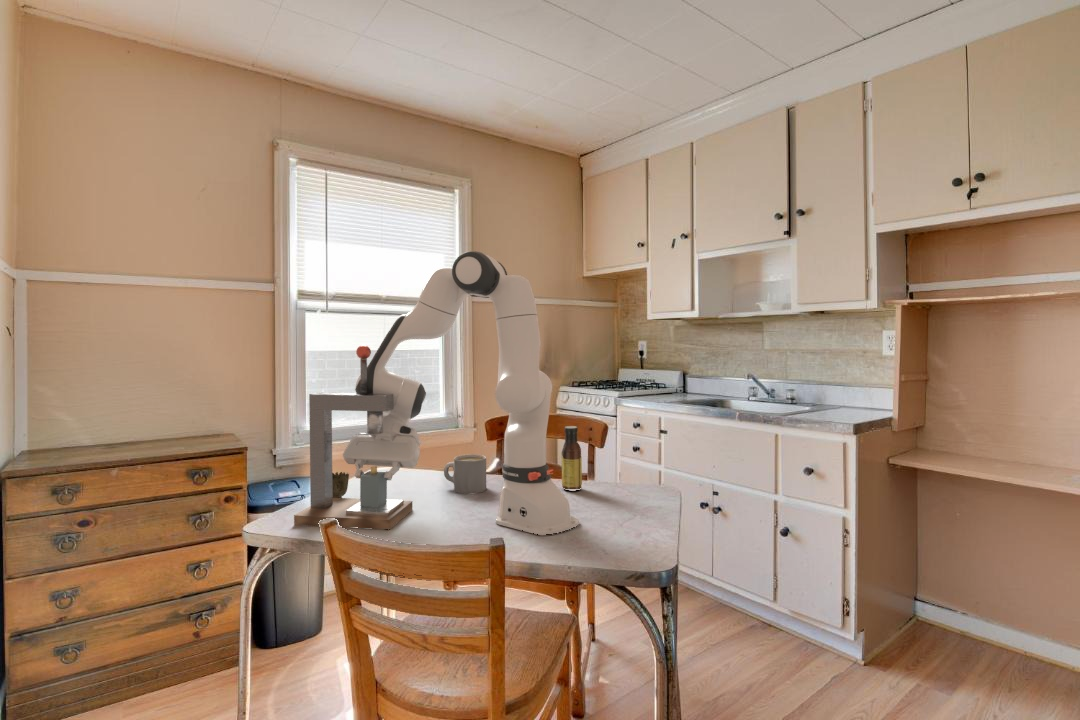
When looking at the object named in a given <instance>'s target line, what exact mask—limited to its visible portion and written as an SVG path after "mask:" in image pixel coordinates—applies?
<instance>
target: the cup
mask: <svg viewBox="0 0 1080 720" xmlns="http://www.w3.org/2000/svg"><path fill="white" fill-rule="evenodd" d="M349 477H350V473H349V472H345V471H341V472H339V473H338V471H336V472H335V473H334V472H332V489H333V498H343V496H345V495H346V493H347V491H348V487H349V480H350V478H349Z"/></svg>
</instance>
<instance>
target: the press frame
mask: <svg viewBox="0 0 1080 720" xmlns="http://www.w3.org/2000/svg"><path fill="white" fill-rule="evenodd" d="M371 354H372V350H371V347H369V346H368V345H367V344H366V345H365V344H362V345H359V346H358V347H357V348H356V356H357V357H358V358H359V359H360V361H359V362H360V366H359V367H360V375H361V393H356V392H352V393H351V392H314V393H313V392H312V393H309V397H308V398H309V399H308V400H309V401H308V402H309V466H310V467H309V475H310V476H309V478H310V479H309V480H310V483H309V484H310V488H309V490H310V492H309V493H310V495H309V496H310V506H311V508H315V509H326V508H328V507H329V506H331V505H333V489H332V473H333V424H332V423H333V421H332V420H333V418H332V417H333V413H332V411H342V412H343V411H344V412H345V411H352V412H366V433H367V434H381V433H383V411H385V412H386V411H389V410H392V409H394V400H393V394H372V393H366V392H367V366H368V358H369V357H370V356H371ZM404 501H405V500H404V499H394V498H393V499H392V498H391V499H390V498H387V502H386V503H384V504H383V505H381V506H380V507H379V508H378V507H363V506H360V502H358V503H357V504H355V505H354V506H352V507H351V508H349V509H348V510H346V515H366V516H389V515H390V514H391V513H393V512H394V511H395V510H396V509H398V508H399V507H400V506H401V505H403V504H404Z"/></svg>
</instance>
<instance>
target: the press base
mask: <svg viewBox="0 0 1080 720" xmlns="http://www.w3.org/2000/svg"><path fill="white" fill-rule="evenodd" d="M358 502H360V498H352V497H351V498H349V497H342V498H333V505H331V506H329V507H328V508H326V509H315V508H311V505H310V506H309V507H307V508H305V509H303V510H301V511H299V512H298V513H296V514H294V515H293V520H294V521H293V525H294V526H300V525H308V526H307V527H320V526H319V524H318V523H319V521H320V520H323V519H326V518H335V519H337V520H338V522H339V525H340V526H342V527H344V529H349V528H348V527H358V528H357V529H359V528H372V529H371V530H378V529H388V530H387V531H390V530H391V529H392V528H394V527H395V526H396V525H397V524H398V523H399V522H401V521H402V520H403V519H404V518H405V517H406V516H407V515H409V514H410V513H411V512H412V511H413V501H412V500H404V504H403V505H401V506H400V507H399V508H398V509H396V510H395V511H394V512H393V513H391V514H390V515H389V516H366V515H346V510H348V509H349V508H351V507H352V506H354V505H355V504H357V503H358ZM409 512H410V513H409ZM408 513H409V514H408ZM404 516H405V517H404ZM403 517H404V518H403ZM402 518H403V519H402ZM401 519H402V520H401ZM397 522H398V523H397ZM396 523H397V524H396ZM395 524H396V525H395ZM394 525H395V526H394ZM389 529H390V530H389Z"/></svg>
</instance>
